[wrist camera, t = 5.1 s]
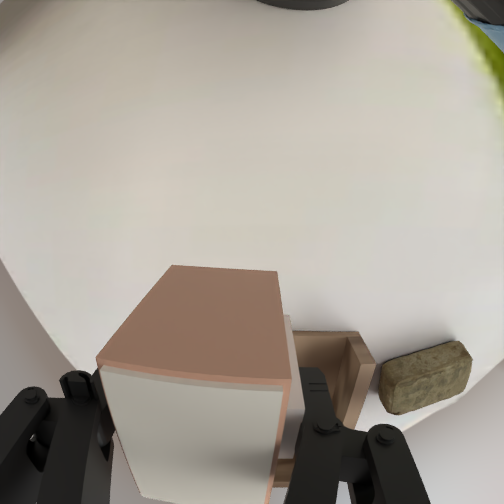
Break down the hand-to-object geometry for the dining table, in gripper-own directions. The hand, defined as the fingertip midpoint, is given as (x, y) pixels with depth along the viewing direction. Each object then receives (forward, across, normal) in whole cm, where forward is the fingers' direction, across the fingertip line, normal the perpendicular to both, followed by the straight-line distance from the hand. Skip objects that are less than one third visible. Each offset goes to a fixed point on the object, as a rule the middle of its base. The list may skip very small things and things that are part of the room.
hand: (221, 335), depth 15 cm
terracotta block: (0, 0, 0) cm, 0 cm away
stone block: (+15, +22, -13) cm, 29 cm away
